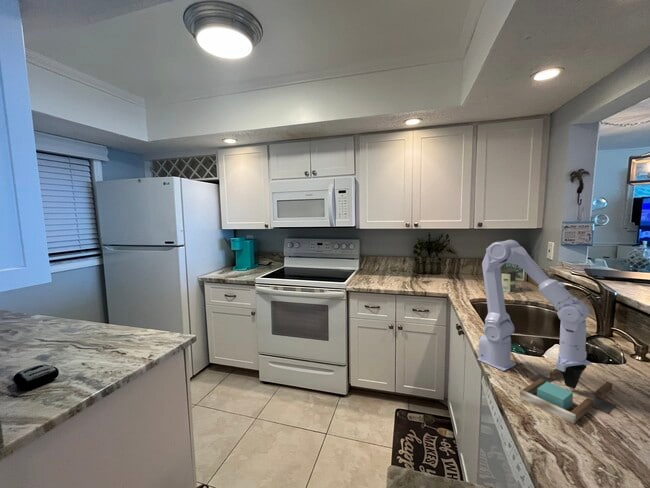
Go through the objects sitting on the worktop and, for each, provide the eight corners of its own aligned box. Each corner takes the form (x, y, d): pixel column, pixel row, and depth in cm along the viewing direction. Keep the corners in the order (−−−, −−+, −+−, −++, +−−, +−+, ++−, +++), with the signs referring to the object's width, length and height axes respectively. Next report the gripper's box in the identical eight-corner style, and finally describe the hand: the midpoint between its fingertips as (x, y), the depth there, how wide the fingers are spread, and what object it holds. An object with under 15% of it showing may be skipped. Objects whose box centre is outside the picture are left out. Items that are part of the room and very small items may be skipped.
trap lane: (509, 392, 84) (509, 385, 84) (550, 366, 97) (550, 361, 96) (589, 431, 68) (589, 424, 68) (626, 395, 81) (626, 388, 80)
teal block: (536, 401, 80) (537, 388, 80) (546, 394, 83) (547, 381, 83) (562, 414, 75) (563, 399, 74) (572, 405, 78) (572, 391, 77)
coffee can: (511, 289, 192) (511, 269, 191) (518, 293, 182) (518, 272, 181) (494, 289, 194) (495, 269, 193) (500, 293, 184) (501, 272, 183)
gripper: (578, 354, 75) (576, 402, 77) (600, 341, 82) (598, 385, 83) (547, 344, 81) (546, 389, 83) (570, 333, 88) (569, 374, 90)
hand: (570, 386), depth 84 cm, fingers closed
